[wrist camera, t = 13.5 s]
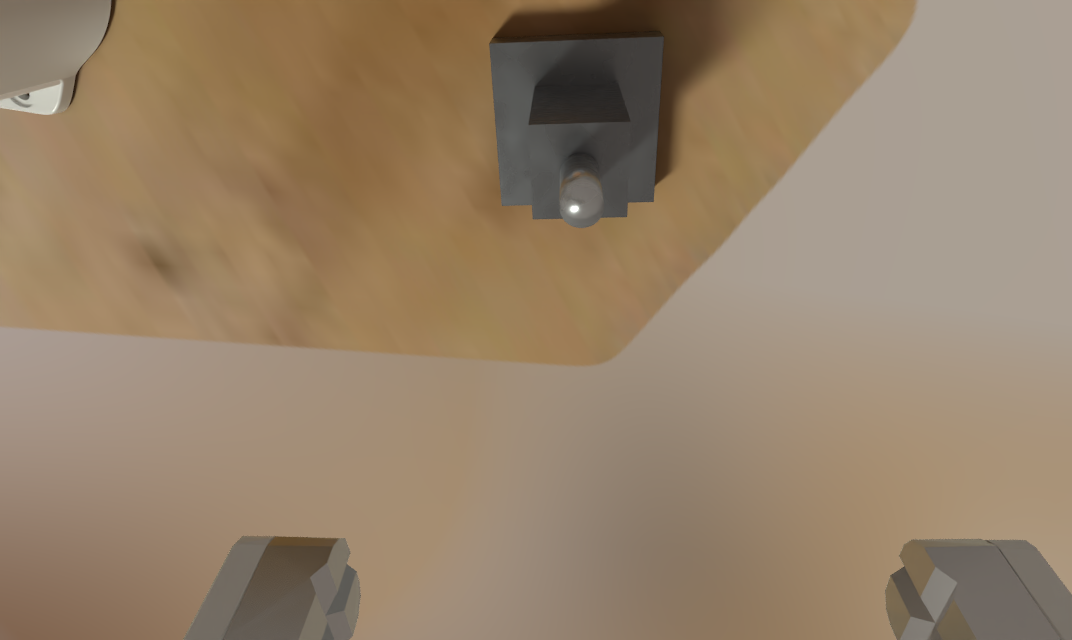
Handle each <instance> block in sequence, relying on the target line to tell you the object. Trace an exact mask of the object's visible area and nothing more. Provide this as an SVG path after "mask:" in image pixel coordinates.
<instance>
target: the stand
mask: <svg viewBox="0 0 1072 640" xmlns="http://www.w3.org/2000/svg"><path fill="white" fill-rule="evenodd" d="M489 44H490V57H491V71H492V84H493V97H494V110H495V123H496V136H497V149H498V162H499V175H500V188H501V201H502V206H509V205H532V212H533V219H564V221H565V222H567V223H568V224H569V225H571V226H573V227H578V228H585V227H589V226H591V225H593V224H595V223H596V222H597V221H598V220H599V219H600V218H604V217H627V205H628V202H654V187H655V171H656V155H657V139H658V123H659V107H660V92H661V76H662V60H663V44H664V36H663V35H662V34H661V32H660V31H649V32H624V33H599V34H574V35H549V36H524V37H499V38H492V40H491V42H490V43H489Z"/></svg>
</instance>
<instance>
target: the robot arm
mask: <svg viewBox="0 0 1072 640" xmlns="http://www.w3.org/2000/svg"><path fill="white" fill-rule="evenodd" d="M110 10H111V0H0V108H5V109H11V110H17V111H23V112H30V113H36V114H42V115H51V114H55V113H60V112H63V111H65V110H66V109H67V108H68V106H69V104H70V102H71V98H72V94H73V89H74V83H75V76H76V74H77V72H78V70H79V69H80V67H81V66H82V65H83V64H84V63H85V62H86V61H87V59H88V58H89V57H90V56H91V55H92V54H93V53H94V51H95V50H96V49H97V47H98V46H99V44H100V42H101V40H102V38H103V36H104V34H105V31H106V28H107V25H108V21H109V17H110ZM27 93H29V95H30V96H28V95H27ZM349 555H350V550H349V547H348V545H347V542H346V539H345V538H311V537H278V536H242V537H241V538H240V539H239V540H238V541H237V542H236V543H235V544H234V545H233V546H232V548H231V550H230V552H229V554H228V556H227V558H226V559H225V561H224V563H223V565H222V567H221V569H220V571H219V573H218V575H217V576H216V578H215V580H214V582H213V584H212V586H211V588H210V590H209V592H208V593H207V595H206V597H205V599H204V601H203V603H202V605H201V607H200V609H199V611H198V613H197V615H196V616H195V618H194V620H193V622H192V624H191V626H190V628H189V629H188V631H187V633H186V635H185V637H184V639H183V640H349V639H350V638H351V637H352V636H353V633H354V629H355V626H356V622H357V618H358V613H359V604H360V596H361V595H360V583H359V578H358V575H357V572H356V571H355V570H354V569H353V568H351V567H350V566H348V565H347V561H348V558H349ZM899 557H900V558H901V560H902V562H903V564H904V567H903V568H901V569H900V570H898V571H897V572H895V573H894V574H892V575H891V576H890V579H889V582H888V584H887V587H886V590H885V594H886V610H887V614H888V618H889V621H890V625H891V627H892V629H893V632H894V634H895V636H896V639H897V640H1072V595H1071V593H1070V592H1069V590H1068V589H1067V588H1066V587H1065V585H1064V584H1063V582H1062V581H1061V580H1060V579H1059V577H1058V576H1057V574H1056V573H1055V572H1054V571H1053V569H1052V568H1051V567H1050V565H1049V564H1048V563H1047V561H1046V560H1045V559H1044V557H1043V556H1042V555H1041V553H1040V552H1039V551H1038V550H1037V548H1036V547H1035V546H1033V545H1032V544H1030V543H1029V542H1027V541H1025V540H982V539H936V540H934V539H933V540H932V539H931V540H911V541H909V542H907V543H906V544H904V546H903V549H902V551H901V553H900V555H899Z"/></svg>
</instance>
